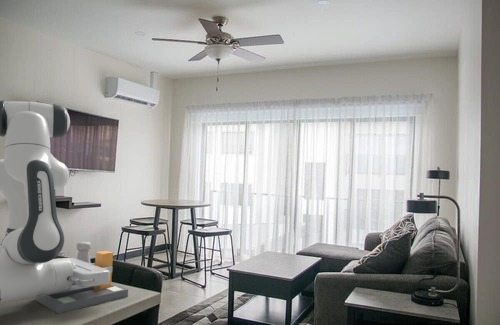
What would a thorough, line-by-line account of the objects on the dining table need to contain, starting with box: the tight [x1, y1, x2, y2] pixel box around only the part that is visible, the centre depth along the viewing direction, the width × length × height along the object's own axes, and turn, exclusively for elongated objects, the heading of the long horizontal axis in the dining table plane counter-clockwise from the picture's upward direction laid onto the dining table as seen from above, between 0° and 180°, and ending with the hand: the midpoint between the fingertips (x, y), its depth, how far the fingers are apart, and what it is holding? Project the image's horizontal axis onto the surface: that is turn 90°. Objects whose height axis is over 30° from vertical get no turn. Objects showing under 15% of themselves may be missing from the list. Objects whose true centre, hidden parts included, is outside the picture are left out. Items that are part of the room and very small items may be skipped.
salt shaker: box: [76, 241, 92, 263], centre depth 122 cm, size 6×6×13 cm
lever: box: [93, 250, 114, 291], centre depth 112 cm, size 4×4×11 cm
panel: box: [33, 282, 129, 314], centre depth 107 cm, size 14×20×2 cm
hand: (106, 267), depth 113 cm, fingers closed on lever, 3 cm apart
